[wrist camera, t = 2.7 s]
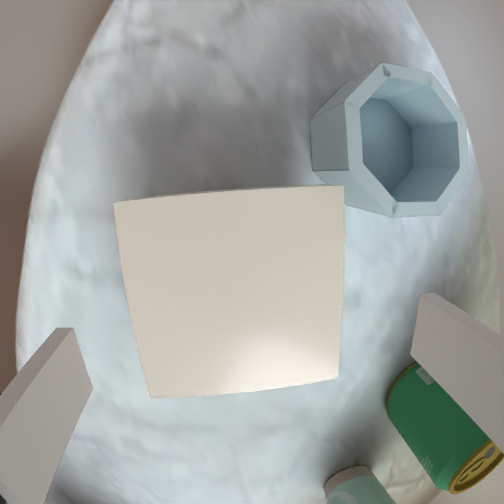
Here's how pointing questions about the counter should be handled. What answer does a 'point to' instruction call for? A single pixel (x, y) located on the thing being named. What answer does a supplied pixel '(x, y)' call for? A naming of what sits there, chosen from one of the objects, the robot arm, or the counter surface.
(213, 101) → the counter surface
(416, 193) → the bowl
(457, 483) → the beverage can
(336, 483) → the coffee cup
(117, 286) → the counter surface
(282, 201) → the ceramic tile
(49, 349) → the robot arm
